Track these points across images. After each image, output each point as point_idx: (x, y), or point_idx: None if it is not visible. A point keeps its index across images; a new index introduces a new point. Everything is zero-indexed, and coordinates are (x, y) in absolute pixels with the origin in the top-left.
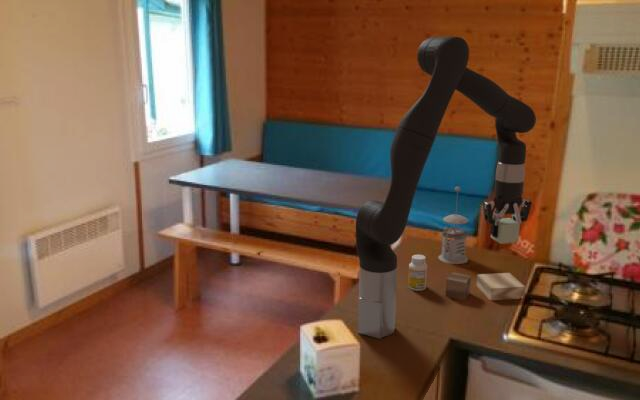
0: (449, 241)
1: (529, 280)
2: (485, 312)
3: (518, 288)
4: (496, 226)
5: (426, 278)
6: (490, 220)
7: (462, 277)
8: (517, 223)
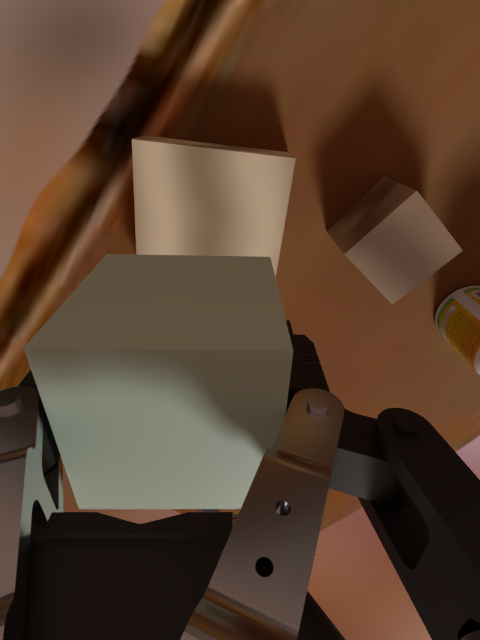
0: (232, 514)
1: (57, 279)
2: (376, 37)
3: (165, 142)
4: (306, 383)
5: (469, 313)
6: (420, 442)
7: (390, 248)
8: (55, 360)
